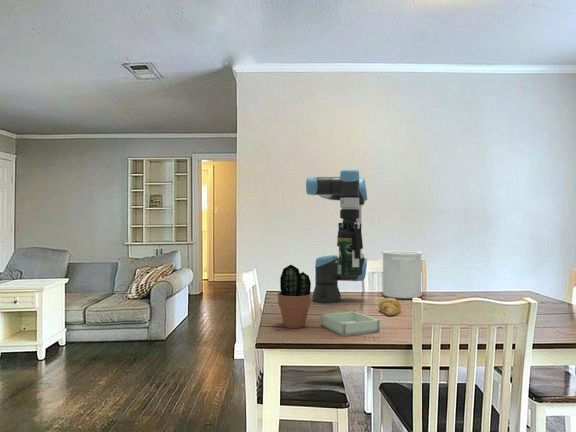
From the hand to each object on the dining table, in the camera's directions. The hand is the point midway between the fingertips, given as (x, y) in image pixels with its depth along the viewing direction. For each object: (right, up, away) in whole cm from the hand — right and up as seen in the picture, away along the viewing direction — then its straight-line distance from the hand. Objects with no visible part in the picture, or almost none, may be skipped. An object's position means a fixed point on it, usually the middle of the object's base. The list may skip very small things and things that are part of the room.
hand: (349, 265), depth 187 cm
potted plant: (-22, -25, +6) cm, 34 cm away
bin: (0, -25, 0) cm, 25 cm away
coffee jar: (0, -4, 0) cm, 4 cm away
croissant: (+23, -25, +31) cm, 46 cm away
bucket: (+38, -25, +70) cm, 84 cm away
